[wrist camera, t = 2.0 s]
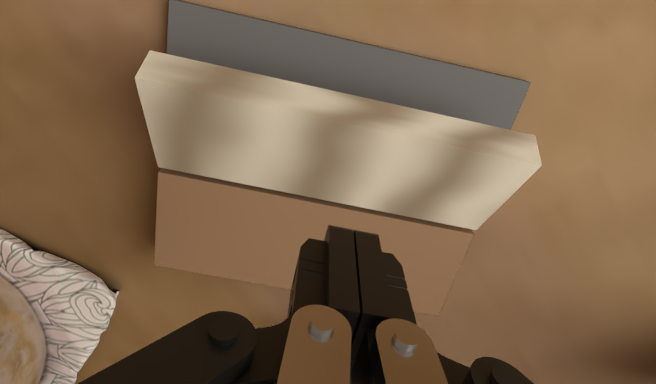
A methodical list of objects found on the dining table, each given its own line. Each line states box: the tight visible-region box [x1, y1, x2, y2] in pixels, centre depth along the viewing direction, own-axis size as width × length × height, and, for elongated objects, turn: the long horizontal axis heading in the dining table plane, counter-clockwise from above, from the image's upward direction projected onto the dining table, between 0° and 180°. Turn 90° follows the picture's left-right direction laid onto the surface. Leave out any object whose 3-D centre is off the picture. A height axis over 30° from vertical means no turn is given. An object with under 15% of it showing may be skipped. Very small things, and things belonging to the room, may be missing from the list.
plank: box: [135, 50, 542, 230], centre depth 24 cm, size 20×7×2 cm, turn 78°
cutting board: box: [154, 0, 530, 316], centre depth 27 cm, size 21×17×3 cm
